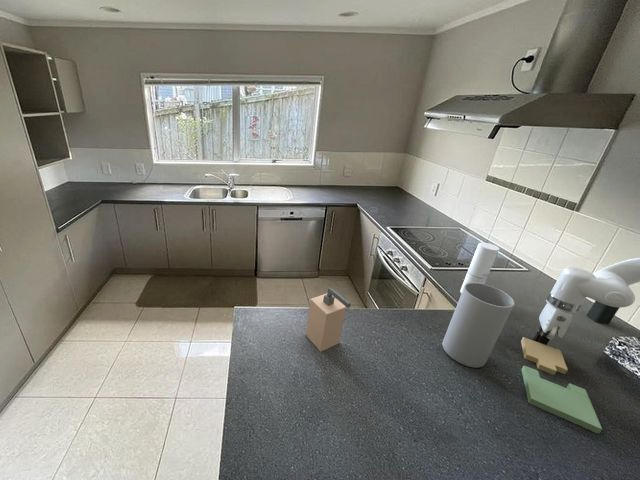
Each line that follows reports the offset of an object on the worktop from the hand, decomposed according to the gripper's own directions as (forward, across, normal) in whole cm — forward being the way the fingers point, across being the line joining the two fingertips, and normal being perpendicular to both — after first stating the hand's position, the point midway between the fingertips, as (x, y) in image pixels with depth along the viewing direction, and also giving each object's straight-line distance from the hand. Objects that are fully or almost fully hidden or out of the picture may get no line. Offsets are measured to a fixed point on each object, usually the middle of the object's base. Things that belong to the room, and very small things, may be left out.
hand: (539, 343), depth 101 cm
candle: (+1, +35, -23) cm, 42 cm away
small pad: (+1, -8, 0) cm, 8 cm away
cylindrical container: (+1, +22, +21) cm, 30 cm away
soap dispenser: (+2, -48, +62) cm, 78 cm away
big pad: (+1, -25, 0) cm, 25 cm away
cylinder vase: (+1, -22, +22) cm, 32 cm away
